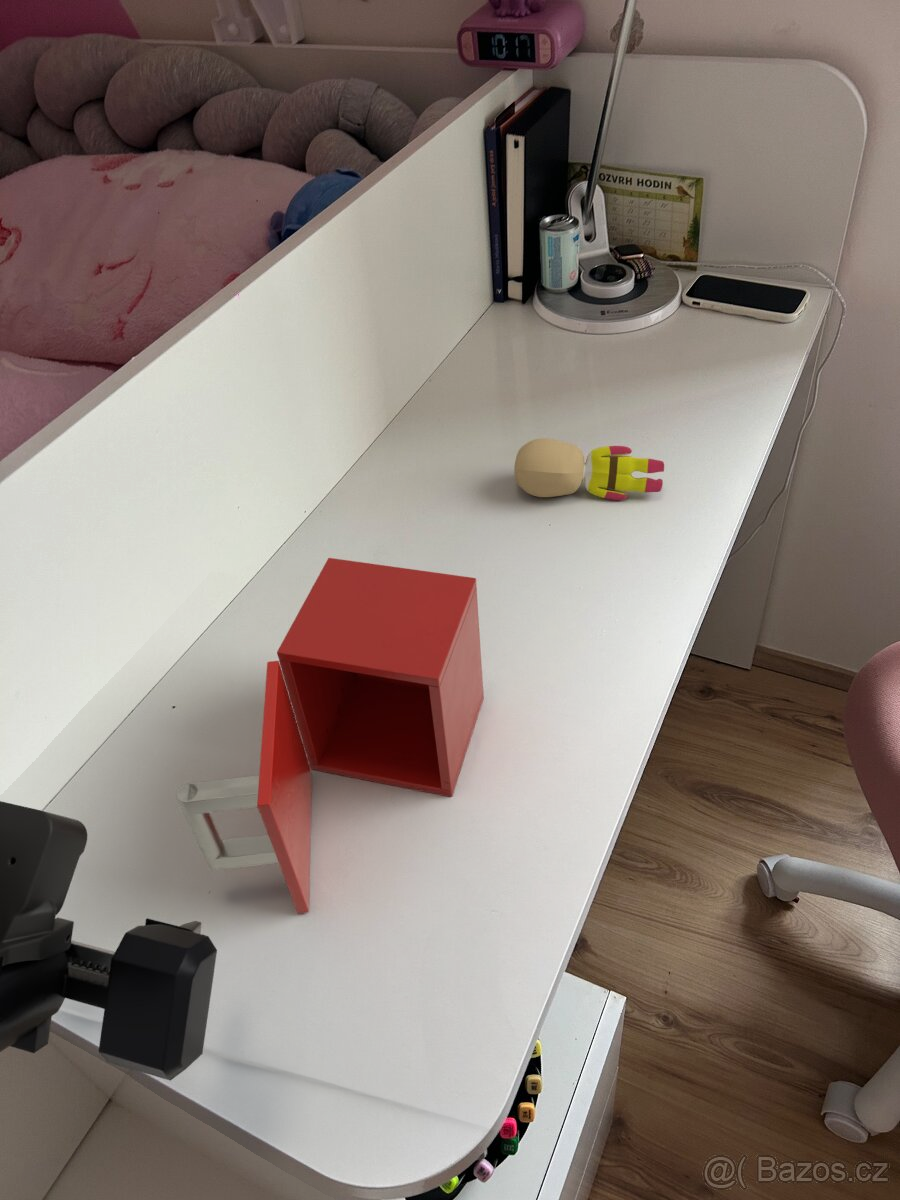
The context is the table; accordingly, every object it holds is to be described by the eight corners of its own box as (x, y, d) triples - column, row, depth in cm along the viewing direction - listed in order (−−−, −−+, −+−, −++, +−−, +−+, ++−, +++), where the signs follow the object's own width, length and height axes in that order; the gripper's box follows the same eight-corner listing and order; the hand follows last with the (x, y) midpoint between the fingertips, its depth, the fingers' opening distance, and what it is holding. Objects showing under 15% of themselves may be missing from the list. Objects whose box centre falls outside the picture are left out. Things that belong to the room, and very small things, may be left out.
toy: (665, 443, 95) (521, 433, 98) (667, 450, 88) (512, 439, 91) (659, 501, 97) (517, 489, 99) (660, 512, 90) (508, 499, 92)
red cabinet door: (222, 922, 64) (168, 815, 54) (235, 783, 72) (190, 669, 63) (309, 912, 64) (270, 804, 55) (311, 774, 72) (278, 660, 63)
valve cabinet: (452, 797, 70) (438, 679, 61) (310, 769, 73) (276, 652, 63) (484, 697, 77) (476, 577, 67) (353, 675, 80) (328, 557, 70)
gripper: (135, 883, 36) (294, 806, 51) (-239, 793, 41) (9, 746, 56) (96, 1163, 36) (266, 1003, 51) (-273, 1042, 41) (-16, 928, 56)
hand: (126, 912), depth 54 cm, fingers open, 9 cm apart
